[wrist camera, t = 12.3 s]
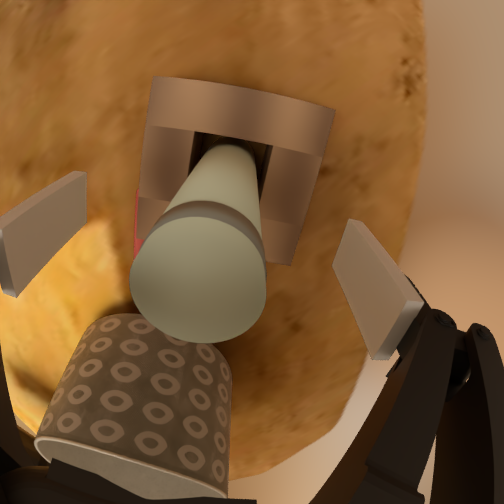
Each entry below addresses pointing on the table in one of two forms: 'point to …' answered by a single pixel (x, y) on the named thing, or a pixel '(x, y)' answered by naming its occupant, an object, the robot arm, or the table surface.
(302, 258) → the table surface
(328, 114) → the square wooden socket block
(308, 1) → the table surface
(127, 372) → the planter
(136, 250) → the red rod
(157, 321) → the banded green cylinder
